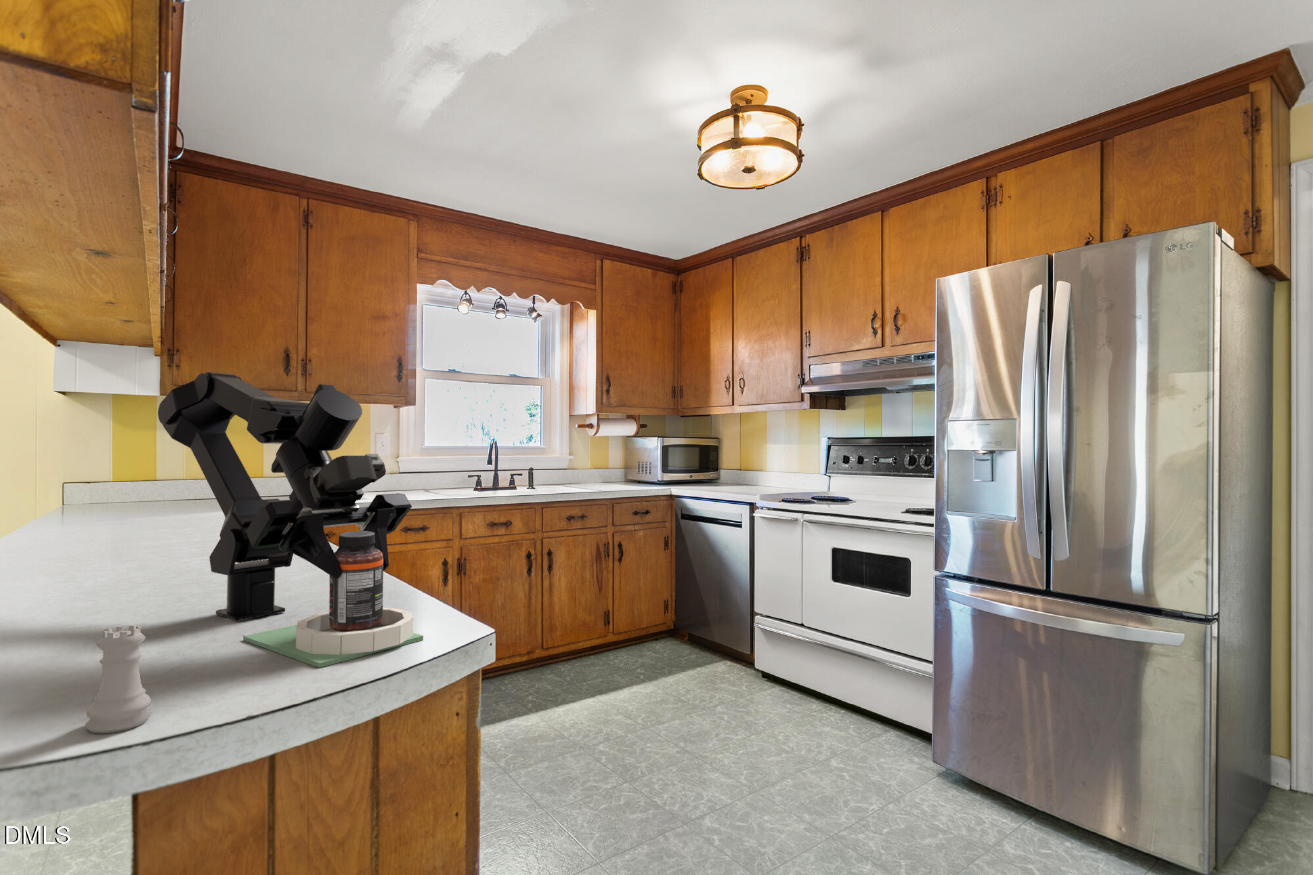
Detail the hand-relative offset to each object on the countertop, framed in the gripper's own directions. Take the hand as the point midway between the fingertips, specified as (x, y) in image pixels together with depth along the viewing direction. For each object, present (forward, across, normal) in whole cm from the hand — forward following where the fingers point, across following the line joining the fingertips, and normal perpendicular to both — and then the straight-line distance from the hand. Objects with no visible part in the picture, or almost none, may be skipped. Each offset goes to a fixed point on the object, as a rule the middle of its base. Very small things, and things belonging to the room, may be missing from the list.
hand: (363, 572), depth 80 cm
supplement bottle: (+4, 0, +6) cm, 7 cm away
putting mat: (+3, -1, +9) cm, 10 cm away
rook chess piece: (+9, -25, +3) cm, 27 cm away
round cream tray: (+5, 0, +7) cm, 9 cm away
